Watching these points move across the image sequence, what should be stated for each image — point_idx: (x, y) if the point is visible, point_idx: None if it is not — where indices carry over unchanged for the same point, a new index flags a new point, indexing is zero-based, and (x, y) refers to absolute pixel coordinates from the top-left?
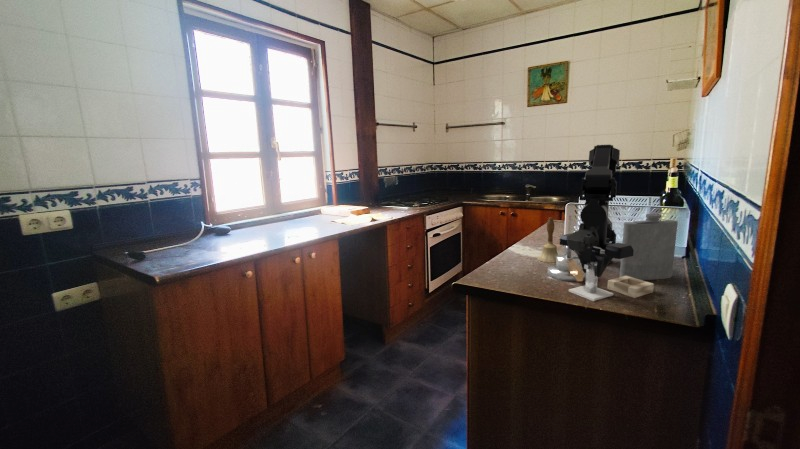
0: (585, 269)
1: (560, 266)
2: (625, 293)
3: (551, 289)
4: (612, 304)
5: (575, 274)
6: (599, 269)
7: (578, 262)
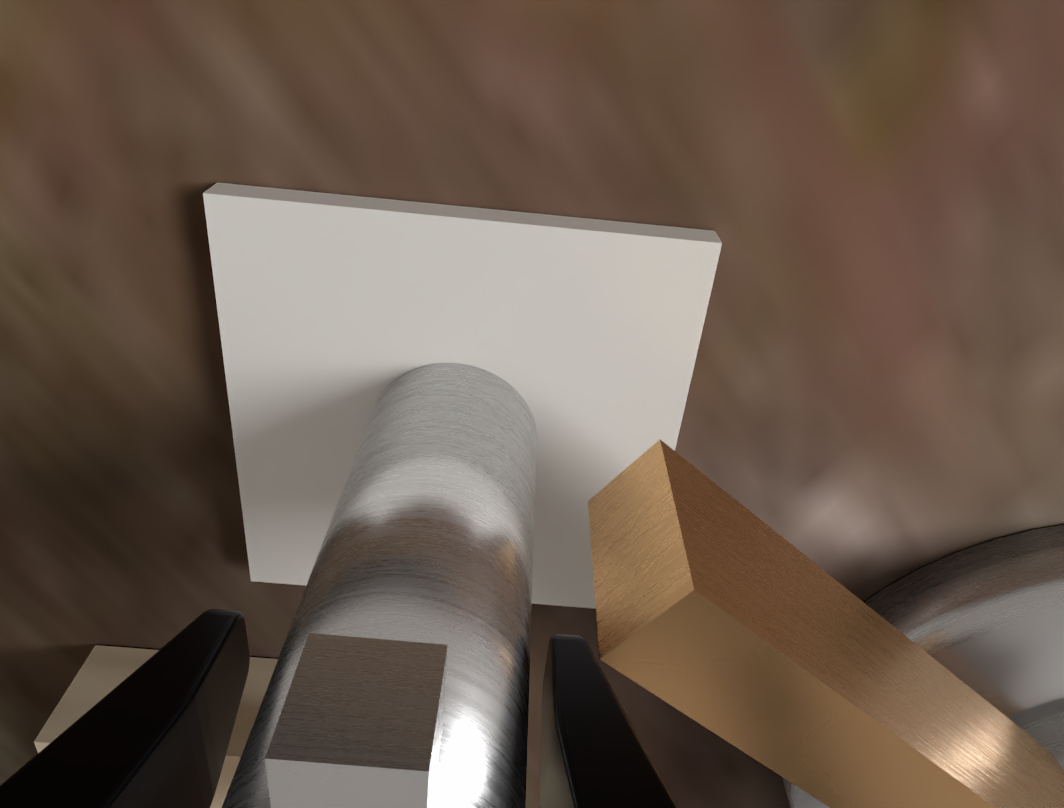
0: (552, 711)
1: None
2: None
3: (997, 65)
4: (12, 297)
5: (772, 572)
6: (37, 768)
7: None
